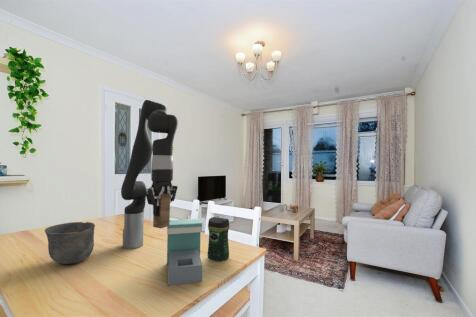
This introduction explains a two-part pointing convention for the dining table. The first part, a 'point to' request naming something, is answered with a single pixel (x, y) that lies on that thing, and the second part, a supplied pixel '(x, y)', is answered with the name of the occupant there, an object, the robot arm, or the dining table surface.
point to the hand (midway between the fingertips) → (161, 214)
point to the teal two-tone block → (183, 235)
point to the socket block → (184, 267)
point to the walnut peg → (163, 212)
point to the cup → (70, 241)
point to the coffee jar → (218, 239)
